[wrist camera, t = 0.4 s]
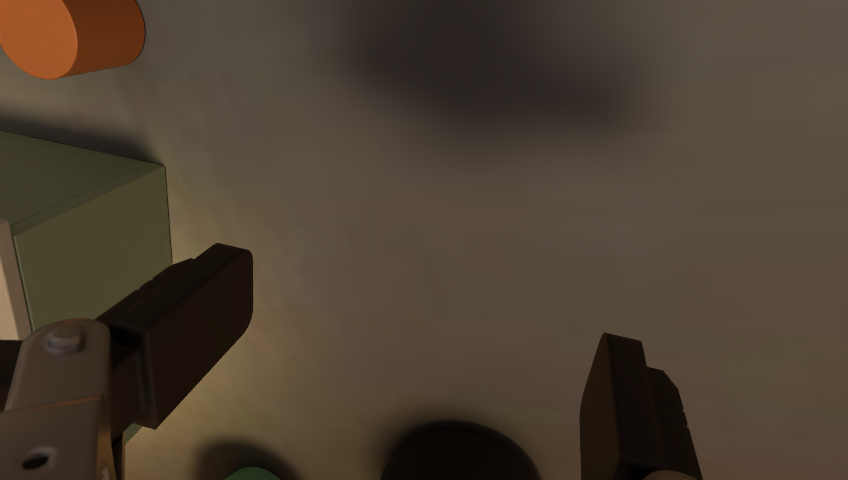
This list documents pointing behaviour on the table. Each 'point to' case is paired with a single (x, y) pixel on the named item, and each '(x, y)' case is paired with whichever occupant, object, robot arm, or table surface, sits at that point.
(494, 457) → the coffee jar
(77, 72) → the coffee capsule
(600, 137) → the table surface
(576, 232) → the table surface
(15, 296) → the box lid
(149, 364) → the robot arm
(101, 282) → the pale green hollow box
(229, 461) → the table surface
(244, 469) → the mug
